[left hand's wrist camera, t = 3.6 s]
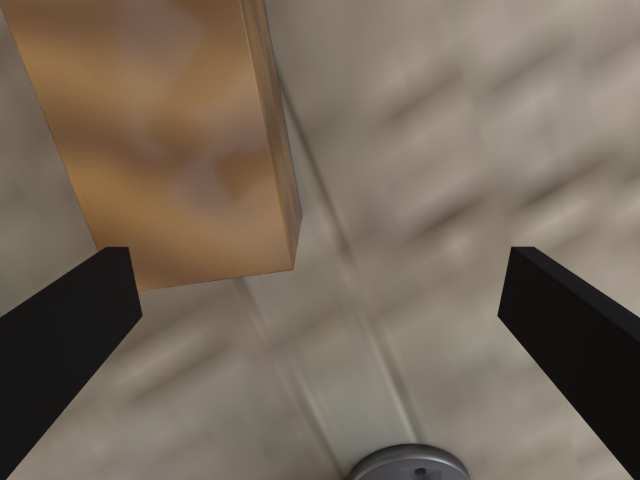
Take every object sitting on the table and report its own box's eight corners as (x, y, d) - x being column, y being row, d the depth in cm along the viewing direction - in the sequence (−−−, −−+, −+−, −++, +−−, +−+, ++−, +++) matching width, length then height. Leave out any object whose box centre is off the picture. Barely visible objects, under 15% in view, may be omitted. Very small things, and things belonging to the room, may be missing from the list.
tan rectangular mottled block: (115, 21, 26) (-16, -33, 16) (263, -5, 26) (225, -79, 16) (180, 234, 32) (114, 295, 22) (302, 216, 32) (293, 270, 21)
